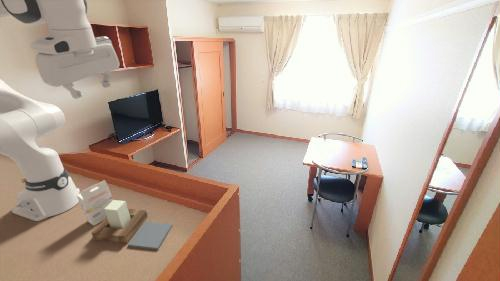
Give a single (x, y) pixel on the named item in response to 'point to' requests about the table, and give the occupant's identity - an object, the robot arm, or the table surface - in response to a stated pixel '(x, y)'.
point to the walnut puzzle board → (120, 235)
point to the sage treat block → (117, 214)
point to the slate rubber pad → (150, 235)
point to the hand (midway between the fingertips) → (93, 92)
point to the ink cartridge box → (95, 202)
